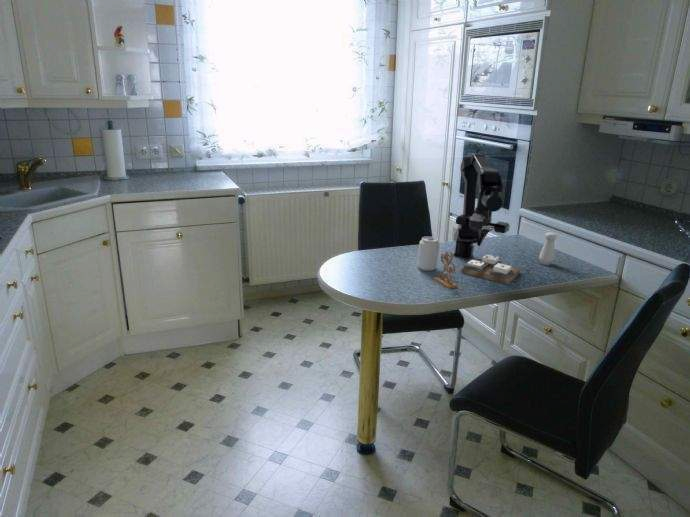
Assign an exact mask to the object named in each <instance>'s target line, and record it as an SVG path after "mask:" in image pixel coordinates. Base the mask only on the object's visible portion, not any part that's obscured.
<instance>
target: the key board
mask: <svg viewBox="0 0 690 517" xmlns="http://www.w3.org/2000/svg"><path fill="white" fill-rule="evenodd" d="M471 260H476V261H480V262H482V258H478V257H474V258H473V259H469V260H468V261H467V262H465V263H464V264H463V266H461V270H460V273H462V274H464V275H465V274H466V275H470V276H474V277H478V278H481V279H486V280H490V281H493V282H497V283H500V282H501V284H505V285H509V284H510V283H511V282H512V281H514V279H516V278H517V277H518V275H520V274H519V273H521V268H519V267H516V266H512V265H510V266H511V271H510V272H509V273H507V274H503V273H499V272H495V271H493V269H494V266H495V265H496V264H498V263H500V264H503V263H502V260H499V261H498V262H497V263H496V264H490V263H486V262H484V263H485V265H484V266H483V267H481V268H478V267H474V266H470V265H467V263H468V262H470V261H471Z"/></svg>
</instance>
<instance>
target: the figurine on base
mask: <svg viewBox="0 0 690 517" xmlns="http://www.w3.org/2000/svg"><path fill="white" fill-rule="evenodd" d="M453 260H454V255H453V253H452V252H451V251H446V252H445V253H442V254H441V255H440V261H441V263H442V264H443V265H444V266H443V270H442V272H441V273H440V275H439V276H436V277H434V278H433V281H435V282H436V283H437V284H439V285H442V286H443V287H445V288H446V289H450V290H451V289H456V288H458V284H456V283H455V282H453V280H452V279H453V278H452V274H455V273H456V266H455V264H454V263H453V262H452V261H453ZM450 265H451V266H450ZM445 272H446V273H445ZM444 273H445V274H444Z"/></svg>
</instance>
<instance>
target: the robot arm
mask: <svg viewBox="0 0 690 517" xmlns="http://www.w3.org/2000/svg"><path fill="white" fill-rule="evenodd" d="M459 169H460V172H461V174H460V175H461V179H462V180H463V181H464V192H463V194H464V195H463V210H462V211H463V212H462V214H461V215H459V216H457V217H456V218H455V224H457V228H456V230H455V231H454V234H453V240H454V242H455V250H454V253H452V255H453V257H454V256H455V257H458V258H463V259H466V260H467V259H470V258H471V257H473V255H474V249H475V246H474V244H477V247H481V245H482V244H483V242H484V240H485V239H486V237H487V235H488V234H489V233H490V232H492V231H493V230H494V232H495V233H499V234H500V233H501V234H506V233H507V232H509V231H510V227H511V225H510V224H509V222H504V221H497V222H496V223H494V222H492V220H493V218H492V215H493V213H494V212H498V211H500V209H501V208H502V207H503V199H502V197H501V196H500V195H499V193H502V191H503V188H504V185H503V178H502V174H501V173H500V172H499V170H497V169H495V168H492V167H491V166H490V164H489V162H488V161H487V159H486V155H485V154H481V153H473V154H471V155H470V156H469V157H466V158H464V159H463V160H462V162H461V163H460V168H459ZM477 186H478V196H477V195H476V194H477ZM476 196H477V204H476Z"/></svg>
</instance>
